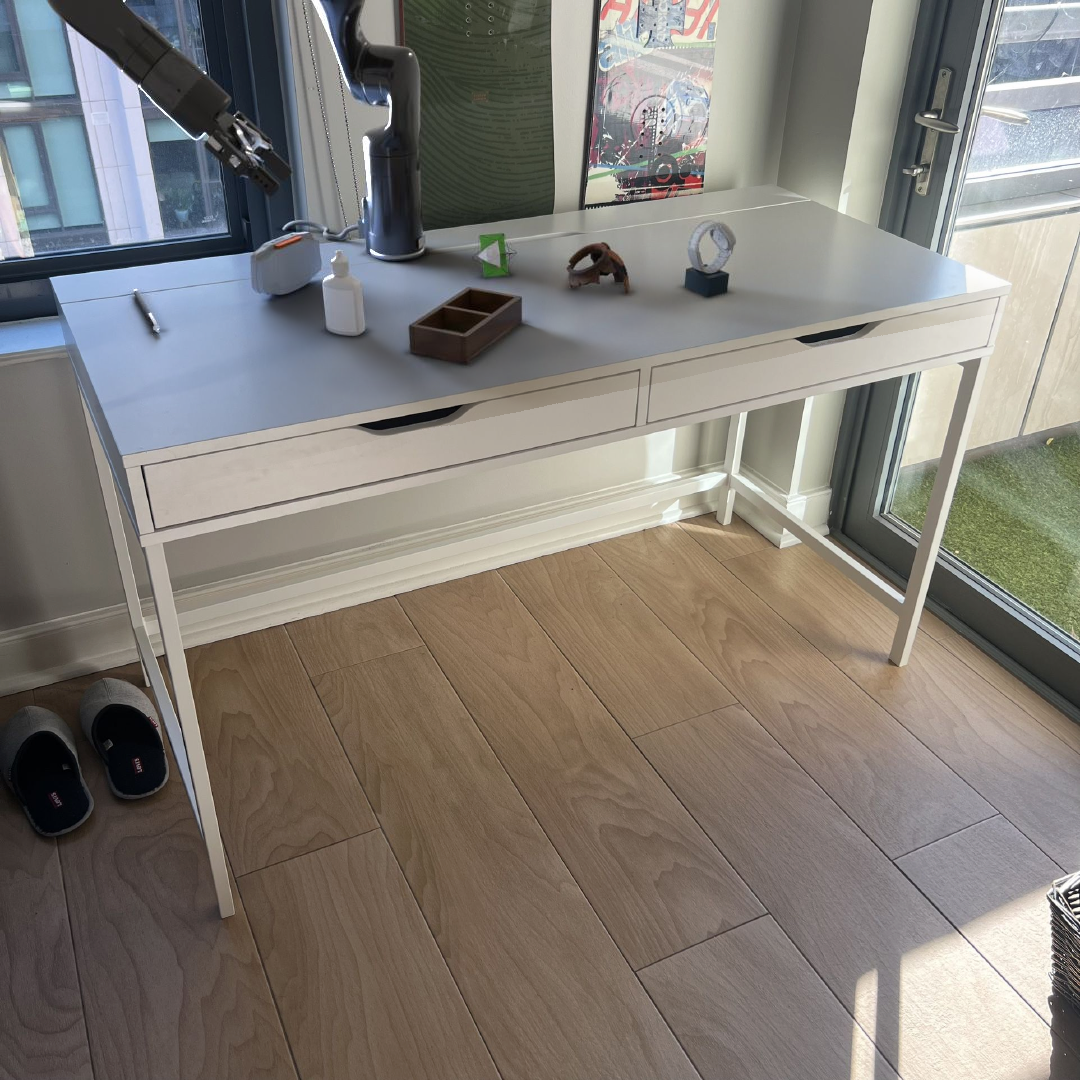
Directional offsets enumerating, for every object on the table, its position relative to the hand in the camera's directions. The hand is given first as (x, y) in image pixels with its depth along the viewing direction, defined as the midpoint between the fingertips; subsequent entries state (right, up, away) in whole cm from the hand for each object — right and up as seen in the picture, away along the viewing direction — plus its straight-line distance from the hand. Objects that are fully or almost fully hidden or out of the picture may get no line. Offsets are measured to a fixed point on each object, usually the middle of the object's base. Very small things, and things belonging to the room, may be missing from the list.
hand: (282, 183), depth 146 cm
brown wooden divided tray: (+25, -20, +8) cm, 33 cm away
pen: (-24, -15, +14) cm, 32 cm away
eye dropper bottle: (+7, -19, +9) cm, 22 cm away
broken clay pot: (+45, -8, +26) cm, 53 cm away
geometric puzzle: (+28, -5, +31) cm, 42 cm away
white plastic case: (-5, -9, +24) cm, 26 cm away
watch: (+62, -9, +26) cm, 68 cm away
